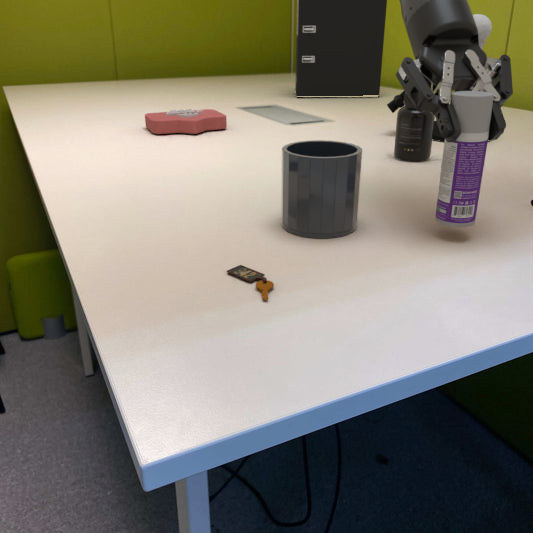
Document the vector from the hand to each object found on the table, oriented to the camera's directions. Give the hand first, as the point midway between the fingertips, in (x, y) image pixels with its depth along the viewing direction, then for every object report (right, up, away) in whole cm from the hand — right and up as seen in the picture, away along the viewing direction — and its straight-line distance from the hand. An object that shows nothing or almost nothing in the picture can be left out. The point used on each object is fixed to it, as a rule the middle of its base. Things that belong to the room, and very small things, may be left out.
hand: (476, 136), depth 61 cm
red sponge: (-42, +18, +71) cm, 84 cm away
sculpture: (+15, +15, +63) cm, 66 cm away
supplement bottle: (+4, +6, +44) cm, 45 cm away
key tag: (-25, -16, -5) cm, 30 cm away
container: (0, -9, +6) cm, 11 cm away
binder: (0, +43, +125) cm, 133 cm away
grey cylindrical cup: (-17, -9, +11) cm, 22 cm away
